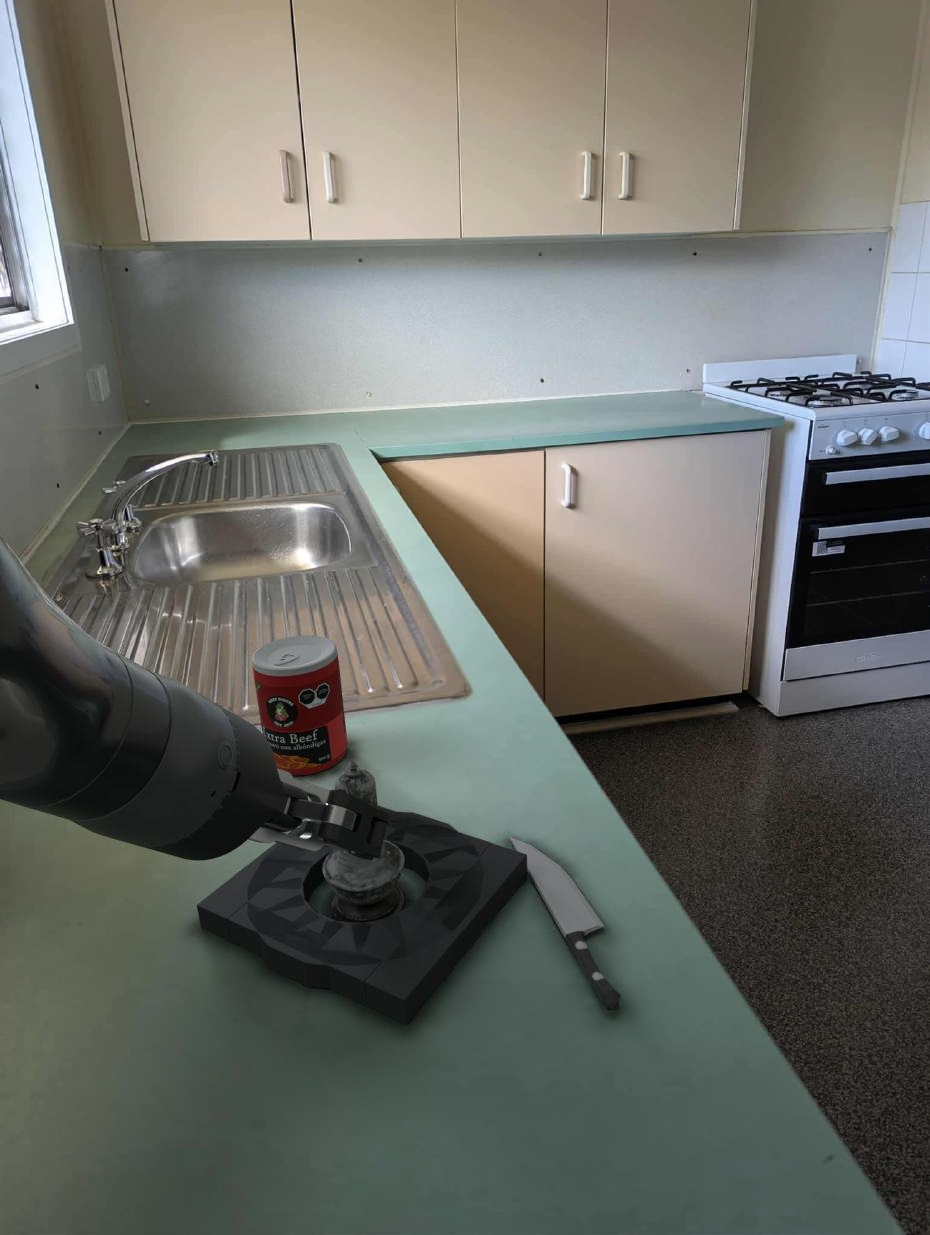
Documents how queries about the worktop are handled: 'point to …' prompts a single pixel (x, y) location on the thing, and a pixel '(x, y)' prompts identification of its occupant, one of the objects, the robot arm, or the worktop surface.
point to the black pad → (377, 950)
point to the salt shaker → (364, 866)
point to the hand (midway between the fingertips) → (313, 830)
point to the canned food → (301, 702)
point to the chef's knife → (568, 915)
